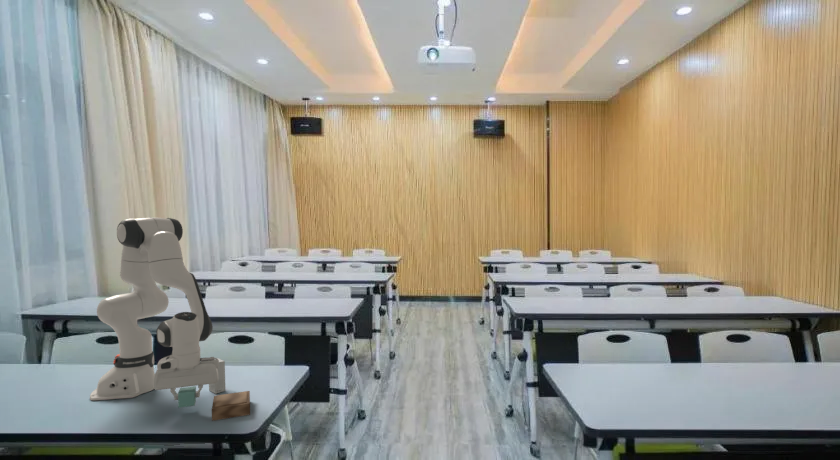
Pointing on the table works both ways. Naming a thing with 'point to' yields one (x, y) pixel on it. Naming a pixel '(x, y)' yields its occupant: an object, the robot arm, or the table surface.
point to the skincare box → (219, 379)
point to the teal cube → (186, 396)
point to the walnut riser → (231, 405)
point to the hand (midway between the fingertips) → (187, 398)
